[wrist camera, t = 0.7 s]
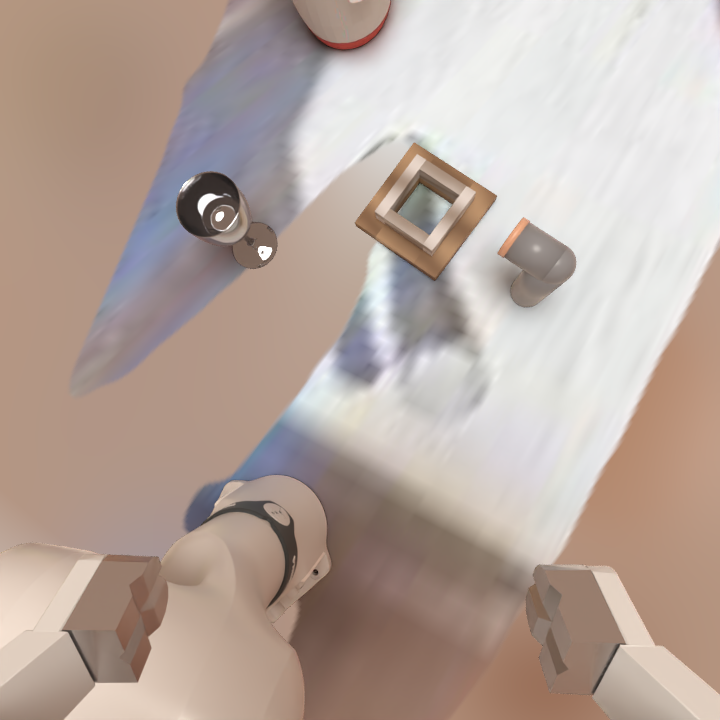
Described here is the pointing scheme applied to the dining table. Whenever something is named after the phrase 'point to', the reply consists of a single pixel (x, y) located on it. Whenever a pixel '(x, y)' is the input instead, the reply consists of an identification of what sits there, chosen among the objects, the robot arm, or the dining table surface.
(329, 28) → the citrus juicer
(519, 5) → the dining table surface
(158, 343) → the dining table surface
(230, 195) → the wine glass
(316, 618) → the dining table surface
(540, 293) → the pipe elbow
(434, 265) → the collar plate
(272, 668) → the robot arm
